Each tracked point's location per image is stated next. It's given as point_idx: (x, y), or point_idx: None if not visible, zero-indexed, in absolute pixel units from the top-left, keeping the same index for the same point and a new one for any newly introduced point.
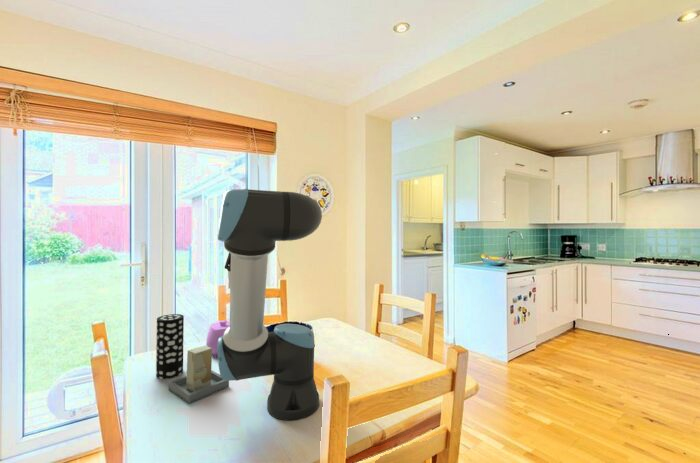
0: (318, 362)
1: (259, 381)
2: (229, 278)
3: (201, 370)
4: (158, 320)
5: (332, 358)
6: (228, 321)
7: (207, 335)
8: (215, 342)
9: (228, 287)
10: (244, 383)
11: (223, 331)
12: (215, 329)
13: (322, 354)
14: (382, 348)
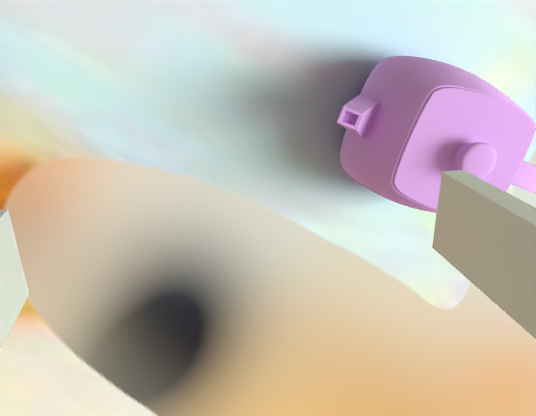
0: None
1: (11, 63)
2: (531, 219)
3: None
4: None
5: (5, 379)
6: None
7: (486, 82)
8: (392, 72)
9: (467, 172)
10: (38, 7)
11: (405, 122)
12: (442, 92)
13: (66, 374)
14: None
